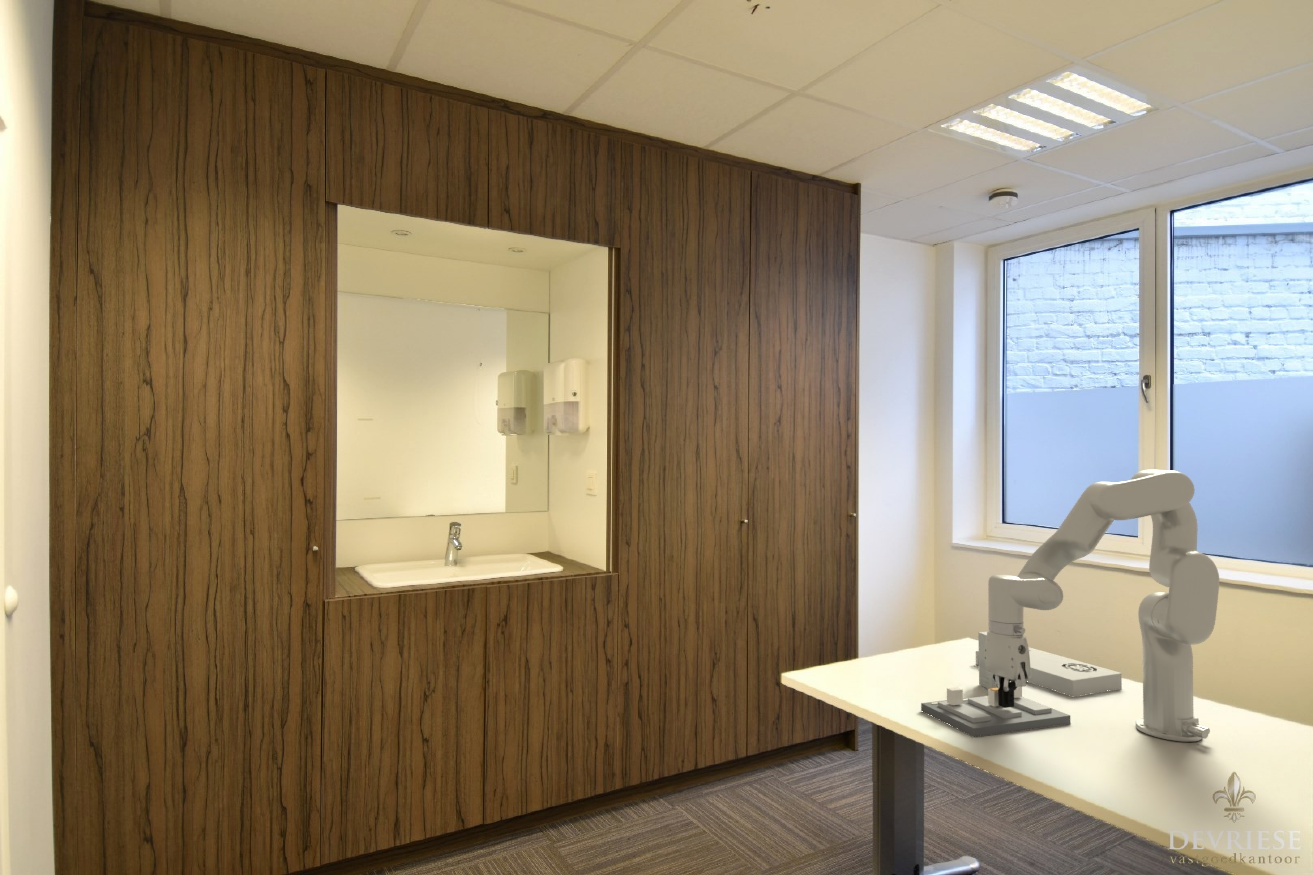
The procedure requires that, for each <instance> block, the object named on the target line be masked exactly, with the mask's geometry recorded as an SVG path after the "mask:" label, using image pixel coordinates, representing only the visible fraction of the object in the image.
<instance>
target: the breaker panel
mask: <svg viewBox="0 0 1313 875" xmlns="http://www.w3.org/2000/svg"><path fill="white" fill-rule="evenodd" d="M920 707H921V708H920V711H923V712H925V713H927V714H929V715H928V716H930V715H932V716H933V717H932V716H931V717H932V718H934V717H935V718H934V719H936V720H938V719H940V720H941V721H940V720H939V721H940V722H942V721H943V723H944V722H945V723H944V724H946V723H948V724H950V725H951V726H950V725H949V726H950V727H952V726H953V727H952V728H954V729H956V728H958V729H959V730H958V729H957V730H958V731H960V732H963V733H964V732H965V733H964V734H966V733H967V734H966V735H968V734H969V736H970V737H972V736H973V737H972V738H979V737H978V736H981V737H987V736H992V735H1001V734H1007V733H1016V732H1023V731H1030V730H1037V729H1045V728H1051V727H1058V726H1059V727H1061V726H1066V725H1071V714H1068V713H1065V712H1063V711H1060V710H1057V709H1055V708H1052V707H1049V706H1048V705H1046V704H1045V705H1044V704H1042V703H1040V702H1037V701H1034V700H1031V699H1029V698H1026V697H1025V696H1022V697H1018V698H1014V707H1008V708H1003V707H1002V706H995V707H994V706H992V705H989V704H988V694H987V695H980V696H970V697H963V704H960V705H950V704H948V703H947V699H946V700H945V699H944V700H938V701H930V702H928V701H927V702H921V703H920ZM923 712H922V713H923ZM925 713H924V714H925ZM927 714H926V715H927ZM948 724H947V725H948Z"/></svg>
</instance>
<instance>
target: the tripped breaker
mask: <svg viewBox="0 0 1313 875" xmlns="http://www.w3.org/2000/svg"><path fill="white" fill-rule="evenodd" d="M998 689H999V688H990V689H987V695H988V704H989V705H992V706H994V707H995V706H999V705H998Z"/></svg>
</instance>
